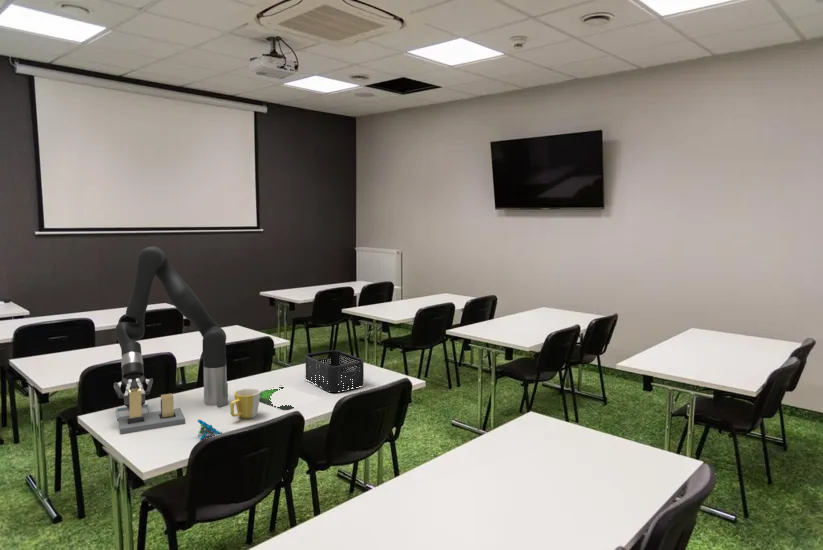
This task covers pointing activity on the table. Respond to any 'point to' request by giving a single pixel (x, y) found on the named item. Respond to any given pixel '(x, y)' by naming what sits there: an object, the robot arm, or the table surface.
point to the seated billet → (167, 406)
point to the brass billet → (135, 402)
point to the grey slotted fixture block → (149, 421)
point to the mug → (246, 403)
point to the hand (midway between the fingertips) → (135, 405)
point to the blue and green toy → (206, 429)
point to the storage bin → (335, 370)
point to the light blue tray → (128, 409)
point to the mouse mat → (266, 396)
